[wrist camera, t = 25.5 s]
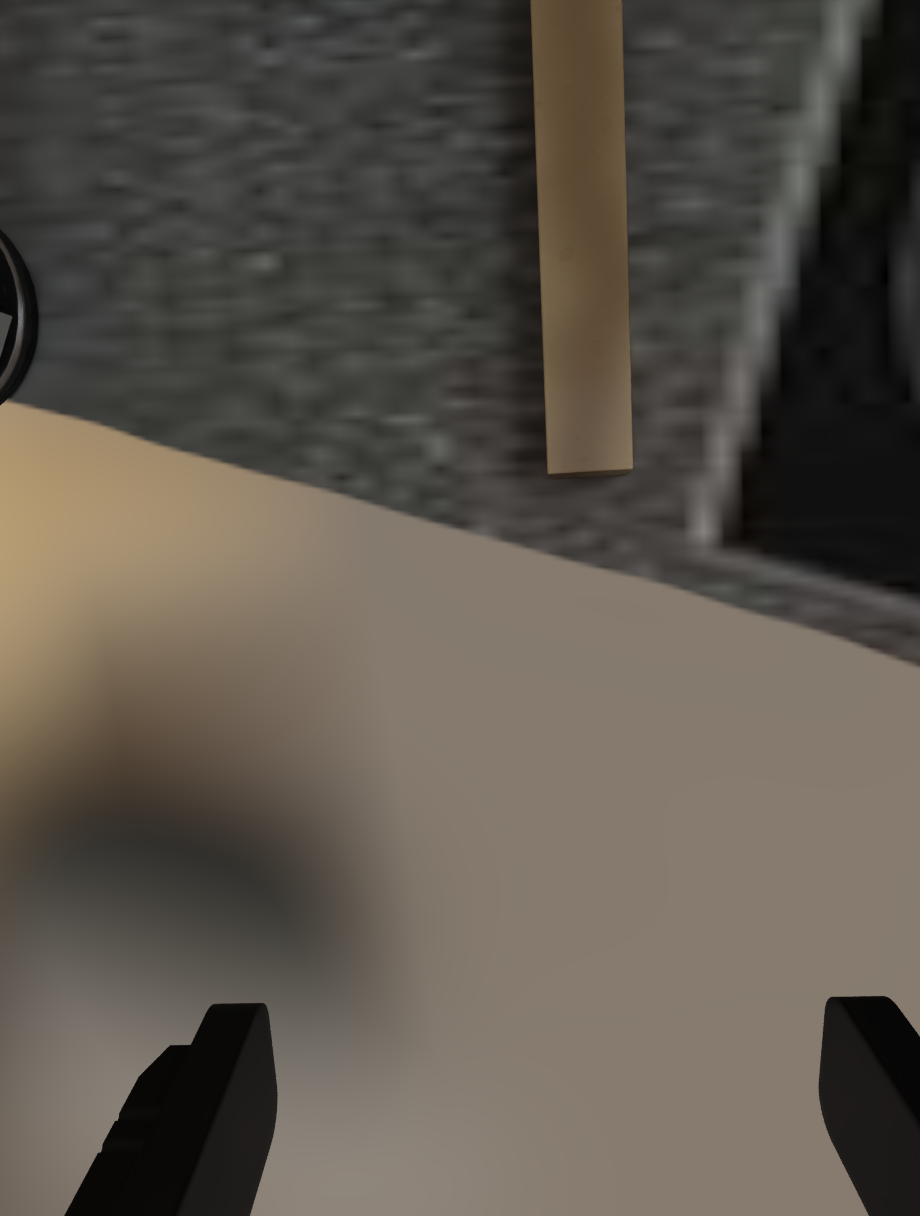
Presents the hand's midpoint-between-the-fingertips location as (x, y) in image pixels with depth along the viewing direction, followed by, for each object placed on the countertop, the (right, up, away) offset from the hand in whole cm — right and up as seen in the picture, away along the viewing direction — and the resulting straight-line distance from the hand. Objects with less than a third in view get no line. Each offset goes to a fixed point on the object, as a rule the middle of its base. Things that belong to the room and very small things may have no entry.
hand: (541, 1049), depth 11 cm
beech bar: (+3, +22, +17) cm, 28 cm away
